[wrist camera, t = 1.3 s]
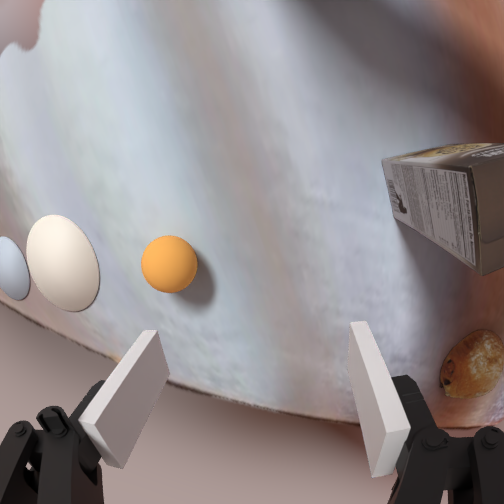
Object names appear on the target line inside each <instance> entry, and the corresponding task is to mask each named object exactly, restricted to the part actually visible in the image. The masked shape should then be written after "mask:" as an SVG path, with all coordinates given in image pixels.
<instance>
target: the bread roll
mask: <svg viewBox="0 0 504 504" xmlns="http://www.w3.org/2000/svg"><path fill="white" fill-rule="evenodd" d="M503 364H504V346H503V343H502V341H501V339H500V338H499V336H498V335H497V334H495V333H494V332H492V331H489V330H479V331H475V332H473V333H471V334H469V335H468V336H467V337H466V338H465V339H463V340H462V341H461V342H459V343H458V344H457V345H456V346H455V347H454V348H453V349H452V350H451V351H450V353H449V354H448V356H447V357H446V359H445V360H444V362H443V365H442V369H441V375H440V378H441V384H440V387H441V388H442V387H443V388H445V391H446V393H445V395H446V396H451V397H454V398H456V397H457V398H461V399H463V398H476V397H480V396H483V395H486V394H487V393H489V392H490V391H491V390H492V389H493V388H494V387H495V385H496V384H497V382H498V380H499V378H500V376H501V374H502V371H503Z"/></svg>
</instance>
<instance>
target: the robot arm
mask: <svg viewBox="0 0 504 504" xmlns="http://www.w3.org/2000/svg"><path fill="white" fill-rule="evenodd" d="M347 371H348V375H349V379H350V383H351V387H352V391H353V395H354V399H355V403H356V407H357V412H358V416H359V420H360V425H361V429H362V434H363V438H364V443H365V448H366V452H367V457H368V462H369V467H370V472H371V478H375V477H380V476H385V475H391V474H393V471H394V469H395V467H396V469H397V473H398V477H397V480H396V482H395V484H394V486H393V488H392V493H391V496H390V499H389V501H388V503H387V504H440V503H441V498H442V494H443V490H448V504H504V432H503V431H501V430H500V429H499V428H496V427H493V426H487V427H484V428H481V429H480V430H479V431H478V432H476V434H475V436H474V437H462V438H455V437H450V436H449V434H448V433H446V432H445V431H444V430H441V429H438V427H437V426H436V424H435V421H434V419H433V417H432V415H431V413H430V411H429V408H428V406H427V404H426V402H425V400H424V398H423V396H422V394H421V393H420V390H419V388H418V386H417V383H416V382H415V381H414V380H413V379H412V378H410V377H409V376H408V375H403V376H397V377H390V374H389V372H388V369H387V367H386V365H385V362H384V360H383V358H382V355H381V353H380V351H379V349H378V346H377V344H376V342H375V340H374V337H373V335H372V333H371V331H370V328H369V326H368V324H367V322H366V321H358V322H350V332H349V349H348V364H347ZM169 375H170V372H169V369H168V365H167V362H166V359H165V355H164V352H163V349H162V345H161V342H160V338H159V334H158V331H157V330H144V331H143V332H142V333H141V335H140V336H139V337H138V339H137V340H136V341H135V343H134V344H133V345H132V347H131V348H130V349H129V351H128V352H127V353H126V355H125V356H124V357H123V359H122V360H121V361H120V363H119V364H118V365H117V367H116V368H115V369H114V371H113V372H112V373H111V375H110V376H109V377H108V379H107V380H106V381H104V380H101V381H99V382H98V383H96V384H95V385H94V386H92V388H91V389H90V390H89V392H88V393H87V395H86V396H85V397H84V398H83V401H81V402H80V404H79V405H78V406H77V408H76V409H75V411H74V412H73V413H72V414H71V416H70V417H69V418H68V417H67V415H66V413H65V412H64V410H63V409H62V408H61V407H59V406H50V407H46V408H45V409H43V410H41V411H40V412H39V413H38V415H37V417H36V419H37V421H38V422H39V424H40V425H41V427H42V428H43V430H35V429H34V428H33V426H32V425H31V424H30V423H29V422H28V421H19V422H16V423H15V424H13V425H12V426H11V427H10V429H9V430H8V432H7V434H6V436H5V438H4V440H3V441H2V443H1V445H0V504H104V498H103V485H102V469H101V466H100V465H99V463H98V462H99V460H100V458H101V457H102V458H103V460H104V461H105V463H106V464H107V465H110V466H113V467H117V468H120V469H123V468H124V466H125V464H126V462H127V460H128V458H129V456H130V454H131V452H132V449H133V448H134V445H135V443H136V441H137V439H138V437H139V435H140V433H141V431H142V429H143V427H144V425H145V423H146V421H147V419H148V417H149V415H150V413H151V411H152V409H153V407H154V405H155V403H156V401H157V399H158V397H159V395H160V393H161V391H162V388H163V387H164V385H165V383H166V381H167V379H168V377H169ZM27 462H29V464H30V465H31V466H32V467H31V469H30V470H28V469H27V468H26V465H27Z"/></svg>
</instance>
